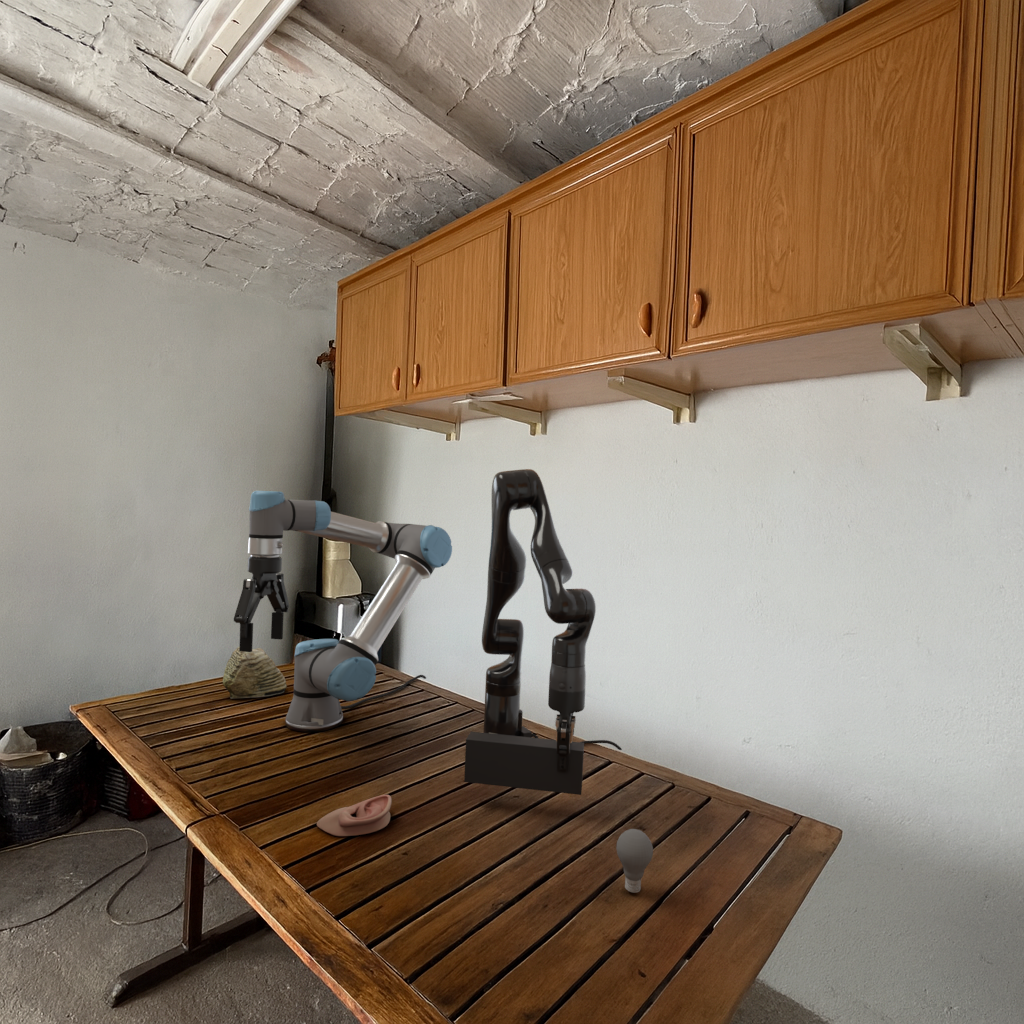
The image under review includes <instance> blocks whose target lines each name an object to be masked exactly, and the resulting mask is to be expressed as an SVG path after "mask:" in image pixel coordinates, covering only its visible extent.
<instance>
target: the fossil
mask: <svg viewBox="0 0 1024 1024" xmlns="http://www.w3.org/2000/svg"><path fill="white" fill-rule="evenodd" d="M222 676H223V677H222V685H223V687H224V688H225V690H226V691H228V693H229V698H230V699H250V698H264V697H271V696H275V695H281V694H284V693H285V691H286V689H287V687H288V686H287V680H286V678H285V676H284V674H283V673H282V672H281V669H279V668H278V667H277V665H276V663H275V662H274V660H273V659H272V658H271V657H270V656H269V655H268V654H267V653H266V652H265V650H264V649H263V648H260V647H258V648H252V652H242V651H239V646H238V647H237V648H236V649H235V650H233V651H232V653H231V656H230V657H229V659H228V660H227V663H226V666H225V668H224V671H223V675H222Z"/></svg>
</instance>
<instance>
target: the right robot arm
mask: <svg viewBox="0 0 1024 1024" xmlns="http://www.w3.org/2000/svg"><path fill="white" fill-rule="evenodd" d="M526 509H530V511H531V513H532V515H533V517H534V526H533V527H534V528H533V530H532V531H533V532H532V536H531V539H530V540H531V541H530V555H531V559H532V561H533V565H534V566H535V568H536V571H537V574H538V577H539V578H540V582H541V590H542V595H543V605H544V606H543V607H544V610H545V614H546V615H547V616H548V618H549V619H550V620H551V621H552V622H553V623H555V624H557V625H565V624H567V627H566V629H565V630H564V631H562V632H559V633H558V634H556V635H554V637H552V643H551V656H550V657H551V660H550V661H551V663H550V667H549V675H548V676H549V677H548V678H549V679H548V700H547V701H548V704H547V705H548V707H549V708H550V709H551V710H552V711H556V712H558V713H556V718H555V724H554V725H555V727H556V728H555V740H556V741H557V750H556V752H557V754H558V764H557V771H558V772H559V773H568V766H569V754H570V743H572V742H574V734H575V726H576V721H577V719H576V718H577V716H576V715H574V714H576V713H580V712H582V711H584V709H585V707H586V705H585V704H586V685H587V684H586V682H587V672H586V656H587V644H588V640H589V638H590V634H591V632H592V627H593V625H594V621H595V619H596V618H595V617H596V610H597V605H596V600H595V597H594V595H593V593H591V591H590V590H589V589H587V588H583V587H579V588H565V587H564V584H567V583H568V582H569V581H570V580H571V579H572V577H573V575H574V574H573V568H572V565H571V563H570V561H569V559H568V557H567V555H566V552H565V550H564V548H563V546H562V544H561V541H560V538H559V536H558V533H557V530H556V527H555V523H554V520H553V516H552V512H551V507H550V504H549V502H548V498H547V494H546V491H545V488H544V485H543V482H542V480H541V477H540V476H539V474H538V473H537V471H535V470H534V469H531V468H530V469H529V468H524V469H514V470H504V471H499V472H497V473H496V474H494V476H493V479H492V482H491V535H490V548H489V557H488V566H487V567H488V568H487V589H486V603H485V609H484V610H485V611H484V617H483V623H482V631H481V632H482V633H481V647H482V650H483V652H484V653H485V654H488V655H495V656H497V655H502V656H503V655H504V656H508V657H507V658H506V659H505V660H503V661H501V662H499V663H496V664H494V665H491V666H489V667H487V669H486V672H485V685H484V686H485V690H484V708H483V709H484V711H483V712H484V713H483V714H484V715H483V732H482V733H491V734H501V735H511V736H521V737H532V738H539V736H538V735H537V734H535V733H533V732H532V731H531V730H530V729H528V728H527V727H525V726H524V725H523V716H524V715H523V713H524V712H523V710H522V709H521V686H522V685H521V684H522V663H523V650H524V641H525V626H524V623H523V621H522V620H521V619H516V618H499V617H500V615H501V613H502V611H503V610H504V608H505V606H506V605H507V604H508V603H509V602H510V601H511V600H512V599H513V598H514V596H516V594H517V593H518V592H519V590H520V589H521V588H522V586H523V585H524V582H525V578H526V569H527V554H526V551H525V549H524V548H523V546H522V544H521V542H520V541H519V540H518V538H517V536H516V535H515V533H514V531H513V529H512V527H511V513H512V511H519V510H526ZM581 742H582V743H584V745H587V744H589V745H591V744H608V745H611V746H613V747H615V748H616V749H617V750H618V751H623V749H622V748H621V746H619V744H617V743H615V742H614V741H611V740H606V739H597V740H596V739H595V740H594V739H593V740H583V741H581ZM560 745H565V746H567V749H564V748H560Z"/></svg>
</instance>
